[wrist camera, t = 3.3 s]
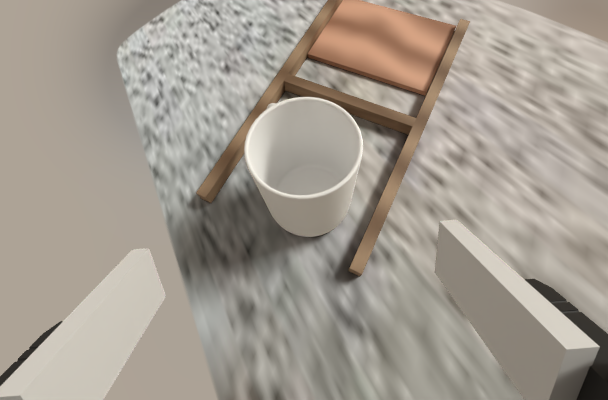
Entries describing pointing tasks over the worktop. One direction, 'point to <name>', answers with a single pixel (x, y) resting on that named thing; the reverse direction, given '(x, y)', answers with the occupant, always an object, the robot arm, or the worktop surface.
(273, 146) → the mug
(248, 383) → the worktop surface
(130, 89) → the worktop surface
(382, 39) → the flat wooden frame
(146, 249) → the robot arm
